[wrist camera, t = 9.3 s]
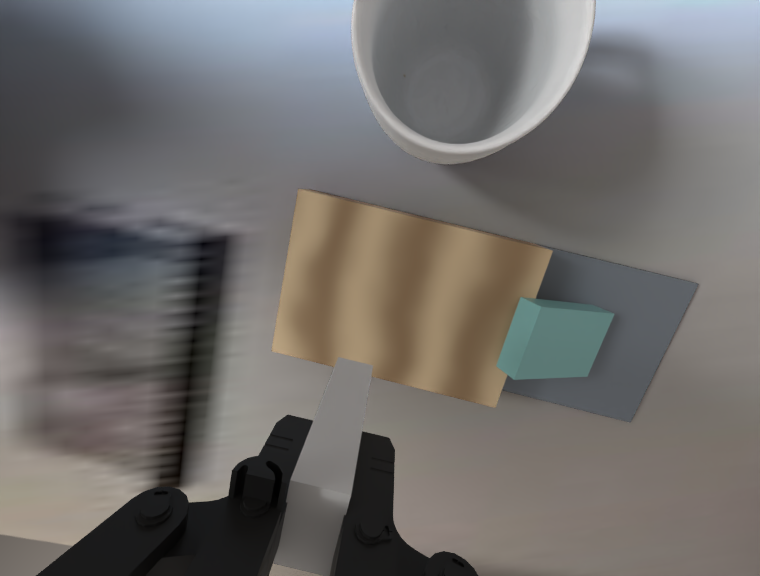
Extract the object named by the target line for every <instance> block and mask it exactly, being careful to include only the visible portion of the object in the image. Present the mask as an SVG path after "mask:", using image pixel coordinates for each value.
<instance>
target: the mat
mask: <svg viewBox="0 0 760 576" xmlns="http://www.w3.org/2000/svg"><path fill="white" fill-rule="evenodd" d="M536 245H537V244H536ZM539 246H541V245H539ZM542 247H544V248H547V249H550V250H552V251H553V252H552V255H551V258H550V260H549V263H548V266H547V269H546V271H545V274H544V277H543V280H542V282H541V285H540V288H539V290H538V293H537V296H536V299H544V300H553V301H562V302H571V303H581V304H590V305H594V306H597V307H599V308H602V309H604V310H607V311H609V312H611V313H614V316H613V319H612V321H611V323H610V326H609V328H608V330H607V333H606V335H605V337H604V339H603V342H602V344H601V346H600V349H599V351H598V353H597V355H596V358H595V360H594V362H593V365H592V367H591V369H590V372H589V374H588V376H587V377H568V378H545V379H521V380H514V379H512V378H511V377H510V376H508V375H507V378H506V380H505V383H504V386H503V388H502V390H504V391H508V392H512V393H515V394H519V395H523V396H527V397H531V398H535V399H539V400H543V401H547V402H551V403H555V404H559V405H563V406H567V407H571V408H575V409H579V410H583V411H587V412H591V413H595V414H599V415H603V416H607V417H611V418H615V419H619V420H623V421H627V422H631V420H632V418H633V416H634V414H635V412H636V410H637V408H638V406H639V404H640V402H641V400H642V398H643V396H644V394H645V392H646V390H647V388H648V386H649V384H650V382H651V380H652V378H653V376H654V374H655V372H656V369H657V367H658V365H659V363H660V361H661V359H662V357H663V355H664V353H665V351H666V349H667V347H668V345H669V343H670V341H671V339H672V337H673V335H674V333H675V331H676V329H677V327H678V325H679V323H680V321H681V319H682V316H683V314H684V312H685V310H686V308H687V306H688V304H689V302H690V300H691V298H692V296H693V294H694V292H695V290H696V288H697V286H698V284H697V283H694V282H689V281H685V280H681V279H677V278H673V277H669V276H665V275H661V274H657V273H652V272H648V271H644V270H640V269H636V268H632V267H628V266H624V265H619V264H615V263H611V262H607V261H603V260H599V259H595V258H591V257H587V256H582V255H578V254H574V253H570V252H566V251H562V250H558V249H554V248H550V247H545V246H542Z"/></svg>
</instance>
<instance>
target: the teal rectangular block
mask: <svg viewBox="0 0 760 576" xmlns="http://www.w3.org/2000/svg"><path fill="white" fill-rule="evenodd" d="M613 316H614V313H611V312H609V311H607V310H604V309H602V308H599V307H597V306H594V305H590V304H581V303H571V302H562V301H553V300H544V299H534V298H525V297H520V300H519V303H518V306H517V309H516V311H515V314H514V317H513V320H512V323H511V325H510V328H509V331H508V334H507V337H506V340H505V342H504V345H503V348H502V351H501V354H500V356H499V359H498V362H497V365H496V366H497V367H498V368H499V369H501V370H502V371H503V372H504V373H506V374H507V375H508V376H510V377H511V378H512V379H514V380H521V379H545V378H568V377H587V376H588V374H589V372H590V369H591V367H592V365H593V362H594V360H595V358H596V355H597V353H598V351H599V349H600V346H601V344H602V342H603V339H604V337H605V335H606V333H607V330H608V328H609V326H610V323H611V321H612V319H613Z"/></svg>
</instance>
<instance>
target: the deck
mask: <svg viewBox="0 0 760 576" xmlns="http://www.w3.org/2000/svg"><path fill="white" fill-rule="evenodd" d="M552 252H553V251H552V250H550V249H547V248H544V247H542V246H539V245H536V244H533V243H529V242H525V241H521V240H517V239H512V238H508V237H504V236H500V235H496V234H492V233H488V232H484V231H480V230H475V229H471V228H467V227H463V226H459V225H455V224H451V223H447V222H442V221H438V220H434V219H430V218H426V217H422V216H418V215H414V214H410V213H405V212H401V211H397V210H393V209H389V208H385V207H381V206H377V205H372V204H368V203H364V202H360V201H356V200H352V199H348V198H344V197H340V196H335V195H331V194H327V193H323V192H319V191H315V190H308V189H298V193H297V199H296V205H295V211H294V217H293V223H292V229H291V235H290V241H289V247H288V254H287V260H286V266H285V272H284V278H283V284H282V290H281V296H280V302H279V308H278V314H277V320H276V326H275V332H274V339H273V345H272V351H273V352H277V353H281V354H285V355H289V356H293V357H297V358H301V359H305V360H309V361H313V362H317V363H320V364H324V365H328V366H332V367H335V364H336V362H337V359H338V357H340V358H344V359H349V360H353V361H357V362H361V363H365V364H369V365H373V369H372V375H371V376H372V377H376V378H380V379H384V380H388V381H391V382H395V383H399V384H403V385H407V386H411V387H415V388H419V389H423V390H427V391H431V392H435V393H439V394H443V395H447V396H451V397H455V398H459V399H463V400H466V401H470V402H474V403H478V404H482V405H486V406H490V407H494V408H496V405H497V402H498V399H499V397H500V394H501V391H502V388H503V386H504V383H505V380H506V378H507V374H506V373H504V372H503V371H502V370H501V369H499V368H498V367H497V366H496V365H497V362H498V359H499V356H500V354H501V351H502V348H503V345H504V342H505V340H506V337H507V334H508V331H509V328H510V325H511V323H512V320H513V317H514V314H515V311H516V309H517V306H518V303H519V300H520V297H525V298H534V299H536V296H537V293H538V290H539V288H540V285H541V282H542V280H543V277H544V274H545V271H546V269H547V266H548V263H549V260H550V258H551V255H552Z"/></svg>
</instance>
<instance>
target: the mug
mask: <svg viewBox="0 0 760 576" xmlns="http://www.w3.org/2000/svg"><path fill="white" fill-rule="evenodd" d="M595 6H596V0H354V3H353V9H352V20H351V40H352V50H353V57H354V62H355V67H356V71H357V74H358V77H359V80H360V83H361V85H362V88H363V90H364V93H365V97H366V99H367V101H368V104H369V105H370V108H371V111H372V112H373V114H374V116H375V117H376V120H377V121H378V122H379V125H380V126H381V127H382V129H383V131H385V133H386V134H387V135H388V136H389V138H390V139H392V141H393V142H394V143H395V144H396V145H398V146H400V148H401V149H402V150H404V151H406V152H407V153H408V154H411V155H413V156H414V157H416V158H419V159H421V160H426V161H428V162H429V163H430V162H433V163H435V164H443V165H445V164H456V163H457V164H460V163H465V162H472V161H474V160H476V159H480V158H484V157H486V156H488V155H491V154H493V153H494V152H498V151H499V150H501V149H503V148H505V147H506V146H507V145H509V144H511V143H514V142H516V141H517V140H518V139H520V138H522V137H523V136H525V135H526V134H528V133H529V132H531V131H532V130H533V129H535V128H536V127H537V126H538V125H540V124H541V123H542V122H543V121H544V120H545V119H546V118H547V117H548V116H549V115H550V114H551V113H552V112H553V111H554V110H555V108H556V107H557V106H558V105H559V104H560V102H561V101H562V100H563V98H564V97H565V96H566V94H567V93H568V91H569V90H570V88H571V87H572V85H573V83H574V81H575V79H576V78H577V76H578V74H579V72H580V69H581V67H582V65H583V62H584V59H585V57H586V54H587V51H588V48H589V44H590V40H591V36H592V31H593V26H594V19H595Z"/></svg>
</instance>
